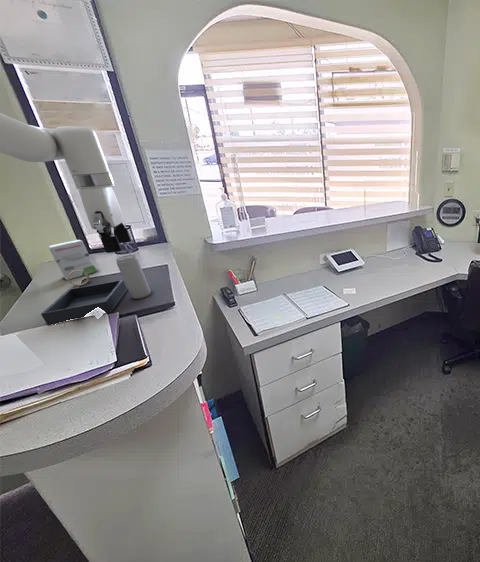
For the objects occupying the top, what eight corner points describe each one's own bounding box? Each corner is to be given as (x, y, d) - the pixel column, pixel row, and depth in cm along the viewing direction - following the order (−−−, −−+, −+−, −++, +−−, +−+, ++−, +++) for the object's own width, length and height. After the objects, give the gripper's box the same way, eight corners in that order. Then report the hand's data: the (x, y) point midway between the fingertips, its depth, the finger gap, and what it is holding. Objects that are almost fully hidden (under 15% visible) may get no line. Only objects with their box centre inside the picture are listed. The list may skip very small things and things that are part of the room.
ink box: (94, 269, 114) (79, 238, 109) (97, 272, 111) (83, 240, 106) (63, 277, 108) (46, 245, 103) (66, 280, 105) (49, 247, 100)
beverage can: (139, 300, 88) (122, 261, 83) (127, 298, 90) (111, 260, 85) (155, 293, 92) (140, 255, 87) (144, 291, 94) (129, 254, 89)
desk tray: (47, 325, 78) (40, 314, 76) (74, 299, 91) (68, 288, 90) (111, 312, 82) (105, 301, 81) (127, 289, 96) (123, 279, 94)
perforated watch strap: (91, 282, 102) (85, 268, 100) (73, 288, 99) (66, 274, 97) (88, 281, 104) (82, 267, 102) (70, 286, 100) (63, 272, 98)
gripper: (88, 179, 83) (112, 241, 90) (59, 186, 69) (91, 258, 76) (122, 177, 86) (143, 237, 93) (100, 183, 71) (127, 253, 78)
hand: (119, 246), depth 84 cm, fingers open, 9 cm apart
